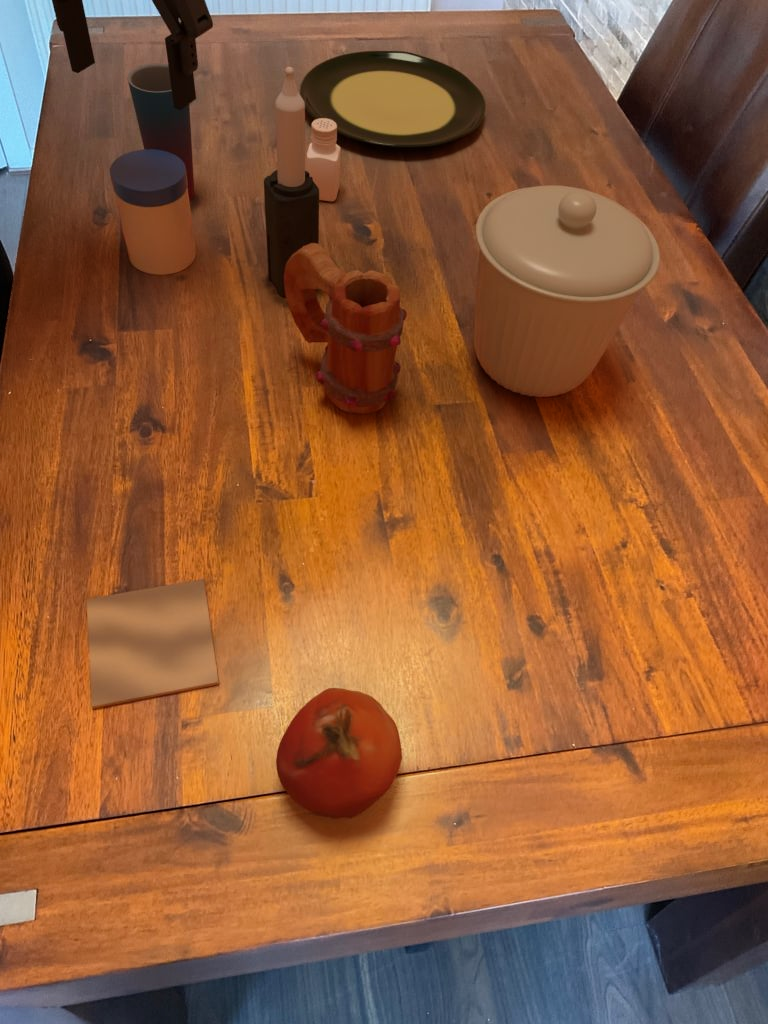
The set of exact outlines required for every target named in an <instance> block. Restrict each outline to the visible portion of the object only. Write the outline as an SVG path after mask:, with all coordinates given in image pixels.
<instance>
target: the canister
mask: <svg viewBox="0 0 768 1024" xmlns="http://www.w3.org/2000/svg"><path fill="white" fill-rule="evenodd" d="M475 240H476V243H477V246H478V248H479V253H478V262H477V263H478V265H477V276H476V277H477V278H476V287H475V288H476V290H475V303H474V321H473V322H474V323H473V324H474V325H473V347H474V350H475V354H476V358H477V360H478V361H479V365H480V366H481V368H482V369H483V370H484V372H485V374H487V375H488V376H489V377H490V379H491V380H493V381H494V382H496V383H497V385H498V386H499V385H500V386H501V387H503V388H504V389H506V390H509V391H511V392H512V393H517V394H519V395H521V396H528V397H536V398H543V397H544V398H549V397H557V396H559V395H564V394H566V393H568V392H571V391H573V390H575V389H576V388H577V387H579V386H580V385H582V384H583V383H584V382H585V380H587V379H588V378H589V377H590V376H591V374H592V372H593V371H595V368H596V366H597V365H598V364H599V362H600V360H601V358H602V357H603V356H604V354H605V352H606V351H607V348H608V347H609V345H610V344H611V342H612V341H613V338H614V337H615V335H616V334H617V332H618V330H619V329H620V326H621V325H622V323H623V321H624V320H625V318H626V316H627V314H628V312H629V311H630V309H631V307H632V305H633V303H634V302H635V300H636V299H637V296H638V295H639V293H640V292H641V291H643V289H645V288H646V287H647V286H648V285H649V284H650V283H651V282H652V281H653V280H654V279H655V277H656V275H657V273H658V270H659V268H660V263H661V252H660V247H659V244H658V242H657V240H656V238H655V235H654V234H653V233H652V231H651V230H650V228H649V227H648V226H647V225H646V224H645V223H644V222H643V221H642V220H641V219H640V218H639V217H638V216H637V215H635V214H634V213H633V212H631V211H630V210H628V209H627V208H626V207H624V206H623V205H621V204H619V203H618V202H617V201H614V200H612V199H611V198H609V197H606V196H604V195H602V194H599V193H597V192H594V191H591V190H588V189H585V188H579V187H573V186H569V185H568V186H567V185H557V184H556V185H555V184H554V185H552V184H551V185H537V186H530V187H523V188H518V189H515V190H511V191H508V192H505V193H503V194H501V195H499V196H498V197H496V198H494V199H493V200H491V201H490V202H489V203H488V204H486V205H485V207H484V208H483V209H482V210H481V212H480V213H479V215H478V217H477V220H476V224H475Z"/></svg>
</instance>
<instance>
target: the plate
mask: <svg viewBox="0 0 768 1024" xmlns="http://www.w3.org/2000/svg"><path fill="white" fill-rule="evenodd" d="M299 94H300V96H301V97H302V99H303V100H304V103H305V111H306V112H308V114H309V115H310V116H311V117H312V118H313V119H314V120H316V119H319V118H327V119H331V120H333V121H334V122H336V124H337V134H339V135H342V136H344V137H347V138H349V139H351V140H355V141H358V142H363V143H366V144H370V145H377V146H383V147H388V148H389V147H390V148H391V147H392V148H425V147H427V148H428V147H434V146H440V145H443V144H448V143H450V142H453V141H456V140H458V139H461V138H463V137H465V136H467V135H469V134H471V133H473V132H474V131H475V130H477V129H478V128H479V127H480V125H481V123H482V122H483V119H484V117H485V114H486V110H487V109H486V107H487V106H486V99H485V96H484V95H483V93H482V91H481V90H480V89H479V88H478V86H477V85H476V84H475V83H474V82H473V81H472V80H470V78H469V77H468V76H467V75H465V74H464V73H463V72H461V71H460V70H458V69H456V68H454V67H452V66H450V65H449V64H446V63H444V62H442V61H439V60H436V59H433V58H430V57H427V56H423V55H421V54H417V53H414V52H410V51H402V50H364V51H355V52H350V53H349V52H348V53H345V54H340V55H337V56H334V57H330V58H328V59H326V60H324V61H322V62H320V63H318V64H317V65H315V66H314V67H313V68H311V69H310V70H309V71H307V73H306V74H305V76H304V77H303V79H302V81H301V83H300V87H299Z"/></svg>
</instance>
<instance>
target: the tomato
mask: <svg viewBox="0 0 768 1024" xmlns="http://www.w3.org/2000/svg"><path fill="white" fill-rule="evenodd" d="M276 751H277V752H276V759H275V764H276V765H275V767H276V772H277V776H278V779H279V782H280V784H281V786H282V788H283V790H284V791H285V792H286V793H287V795H288V797H290V799H291V800H293V802H295V804H296V805H298V806H299V807H300V808H302V809H304V810H306V811H307V812H309V813H312V814H313V815H315V816H319V817H322V818H327V819H333V820H334V819H335V820H336V819H353V818H355V817H357V816H359V815H360V814H362V813H364V812H365V811H366V810H368V809H369V808H370V807H372V806H373V805H374V804H376V802H378V801H379V800H380V799H381V798H382V797H383V796H384V795H386V793H387V792H388V791H389V790H390V788H392V786H393V784H394V782H395V779H396V777H397V776H398V773H399V771H400V769H401V764H402V759H403V754H402V753H403V752H402V751H403V750H402V744H401V738H400V733H399V729H398V726H397V724H396V721H395V720H394V719H393V718H392V716H391V715H390V714H389V713H388V712H387V711H386V709H385V708H384V707H383V706H382V704H381V703H380V702H379V701H378V700H377V699H376V698H374V697H373V696H372V695H369V694H367V693H365V692H362V691H359V690H358V691H357V690H351V689H346V688H340V687H329V688H326V689H324V690H322V691H321V692H320V693H318V694H316V695H314V696H313V697H312V698H311V699H310V700H309V701H308V702H306V703H305V704H304V705H303V706H302V707H301V709H299V710H298V711H297V713H296V714H295V716H294V717H293V718H292V720H291V721H290V723H289V725H288V726H287V728H286V729H285V732H284V733H283V735H282V738H281V739H280V742H279V744H278V748H277V750H276Z"/></svg>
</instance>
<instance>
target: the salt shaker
mask: <svg viewBox="0 0 768 1024" xmlns="http://www.w3.org/2000/svg"><path fill="white" fill-rule="evenodd" d="M310 136H311V137H310V138H311V142H310V143H309V145H308V149H307V152H306V171H307V172H308V173H309V176H310V177H312V178H313V181H314V183H315V184H316V185H317V187H318V188H319V201H326V202H334V201H336V199H337V197H338V192H339V188H340V177H341V154H342V153H341V152H342V151H341V149H342V148H341V146H340V145H339V144H337V140H338V132H337V124H336V122H334V121H333V120H331V119H327V118H319V119H314V120H313V121H312V122H311V135H310Z"/></svg>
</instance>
